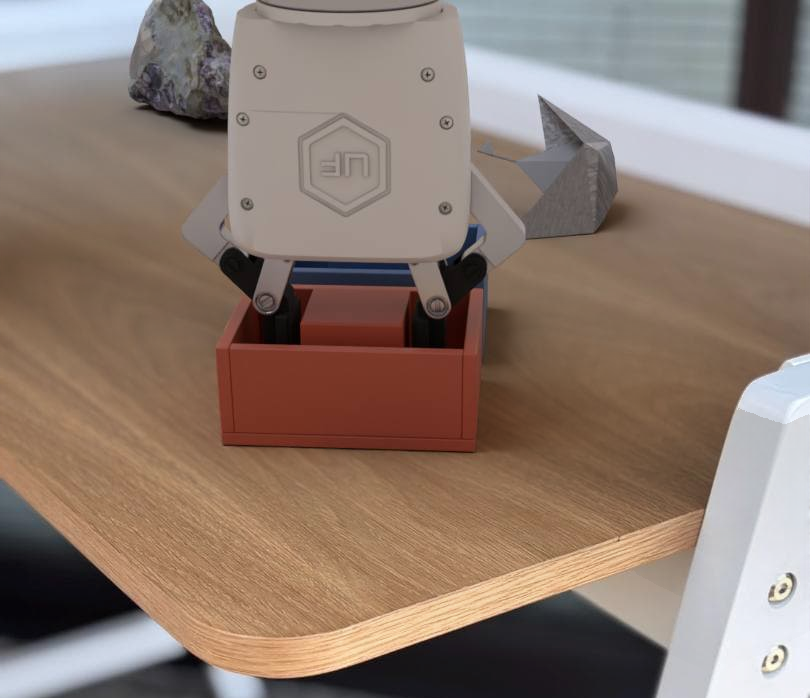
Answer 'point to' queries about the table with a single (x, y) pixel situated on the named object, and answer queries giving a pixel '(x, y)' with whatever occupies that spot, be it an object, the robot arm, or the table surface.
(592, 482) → the table surface
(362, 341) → the terracotta block
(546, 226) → the grey faceted pointed figurine
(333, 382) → the terracotta bin
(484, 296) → the blue bin
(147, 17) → the mineral rock
